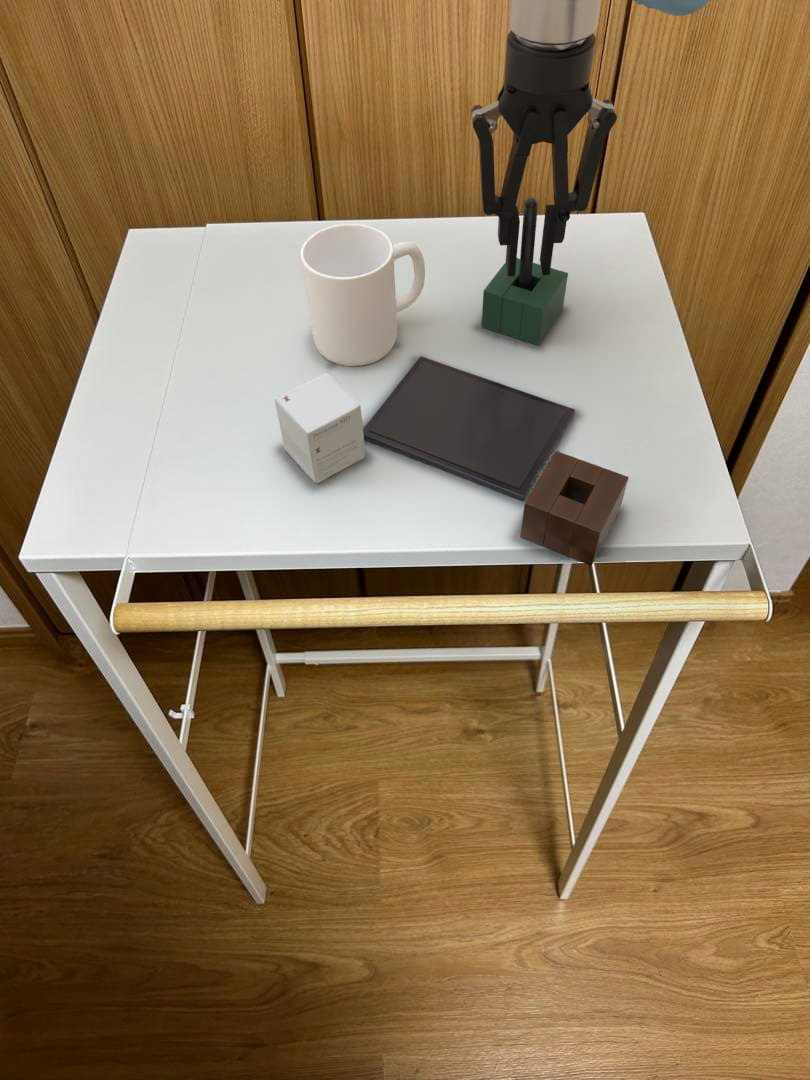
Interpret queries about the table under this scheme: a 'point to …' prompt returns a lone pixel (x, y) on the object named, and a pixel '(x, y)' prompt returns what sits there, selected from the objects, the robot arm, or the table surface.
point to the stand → (524, 303)
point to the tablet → (469, 426)
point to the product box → (321, 427)
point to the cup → (356, 291)
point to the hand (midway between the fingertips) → (527, 267)
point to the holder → (573, 507)
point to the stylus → (527, 243)
